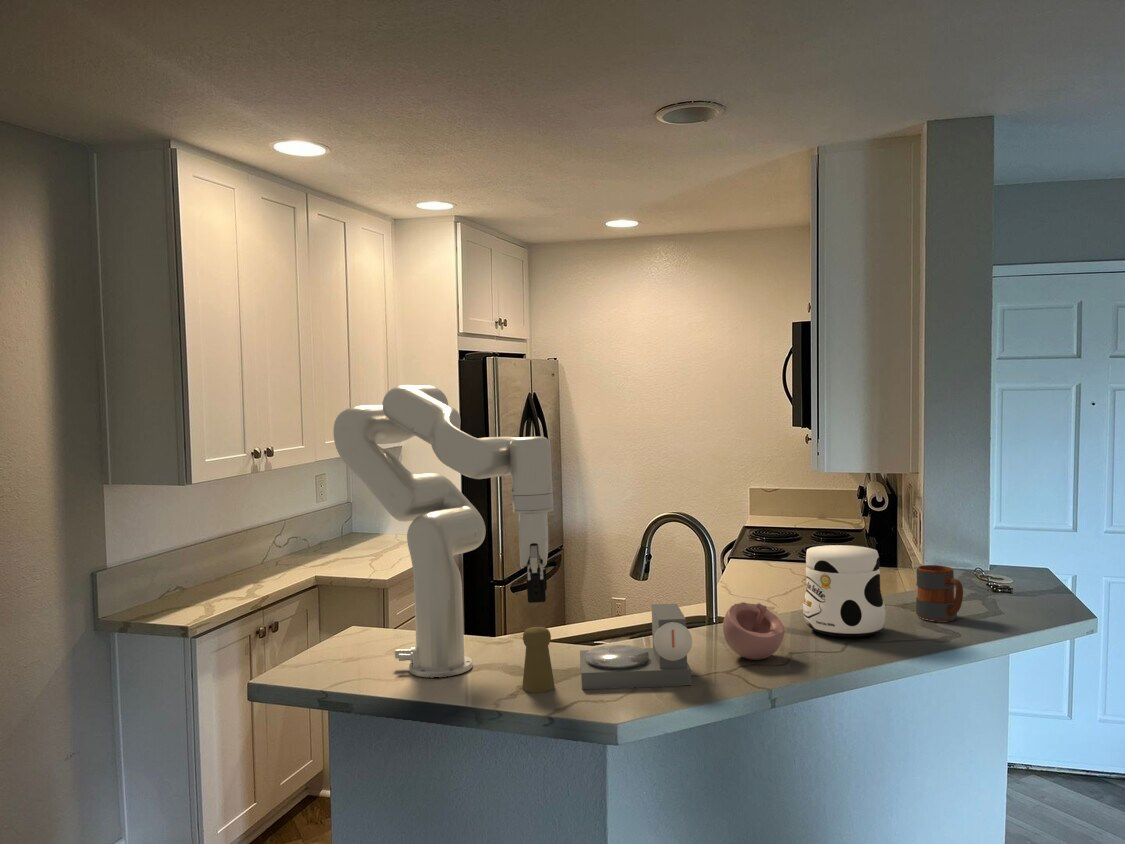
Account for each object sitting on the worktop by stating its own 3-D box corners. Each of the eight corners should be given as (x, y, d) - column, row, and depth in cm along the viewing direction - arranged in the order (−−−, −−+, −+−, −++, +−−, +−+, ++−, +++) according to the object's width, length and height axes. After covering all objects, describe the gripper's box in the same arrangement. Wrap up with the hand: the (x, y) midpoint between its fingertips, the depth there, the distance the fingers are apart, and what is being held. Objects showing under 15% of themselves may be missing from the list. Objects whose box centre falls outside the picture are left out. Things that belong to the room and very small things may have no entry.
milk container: (787, 631, 182) (785, 551, 182) (833, 617, 193) (831, 541, 192) (856, 647, 168) (854, 561, 168) (901, 631, 179) (899, 550, 179)
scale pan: (586, 670, 149) (586, 664, 149) (584, 651, 161) (584, 646, 161) (651, 667, 149) (651, 662, 149) (645, 649, 161) (645, 644, 161)
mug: (948, 628, 180) (946, 575, 180) (907, 616, 192) (906, 566, 191) (977, 623, 183) (976, 571, 183) (936, 612, 194) (935, 563, 194)
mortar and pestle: (755, 671, 155) (753, 611, 155) (711, 657, 165) (709, 600, 165) (797, 659, 162) (796, 602, 162) (753, 646, 172) (751, 592, 172)
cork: (526, 694, 147) (524, 633, 147) (519, 684, 153) (517, 625, 152) (558, 690, 148) (556, 630, 148) (550, 680, 154) (548, 622, 154)
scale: (581, 689, 148) (579, 623, 148) (580, 665, 162) (578, 605, 162) (694, 685, 148) (692, 620, 148) (682, 662, 162) (680, 602, 162)
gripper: (515, 500, 159) (519, 587, 159) (509, 509, 141) (514, 608, 141) (553, 498, 159) (558, 585, 159) (552, 507, 141) (557, 605, 141)
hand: (537, 596), depth 150 cm, fingers open, 9 cm apart
